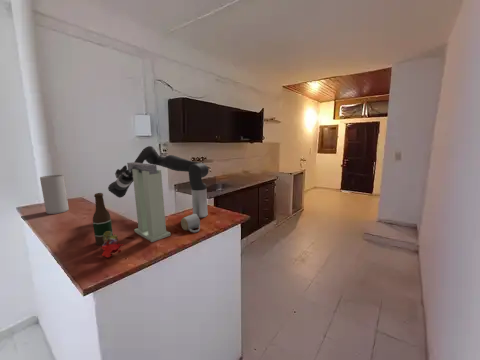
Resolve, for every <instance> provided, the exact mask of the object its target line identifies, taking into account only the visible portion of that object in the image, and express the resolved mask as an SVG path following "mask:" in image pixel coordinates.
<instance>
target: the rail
mask: <svg viewBox="0 0 480 360" xmlns="http://www.w3.org/2000/svg"><path fill="white" fill-rule="evenodd" d="M126 166H127V170H129V171H132V169H137V170H139V173H142V171H149V175H150V174H157V170H158V168H157V167H158V166H157V165H153V164H149V163H144V162H143V163H137V162H135V161H134V162H127V165H126Z"/></svg>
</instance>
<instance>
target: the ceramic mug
mask: <svg viewBox="0 0 480 360" xmlns="http://www.w3.org/2000/svg"><path fill="white" fill-rule="evenodd" d="M180 226H181V228H182V230H184V231H189V232H191V233H198V232H200V230H201V219H200V218H199V217H198V216H197V214H193V213H192V214H189V215H187V216H185V217H183V218H181V219H180ZM194 229H195V230H194Z"/></svg>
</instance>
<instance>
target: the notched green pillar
mask: <svg viewBox="0 0 480 360" xmlns="http://www.w3.org/2000/svg"><path fill="white" fill-rule="evenodd" d="M132 172H133V190H134V199H135V207H136V208H135V209H136V217H137V227H138V228H135V229H134V232H135V233H136V234H137V235H139V236H140V237H142V238H144V239H146V240H147V241H150V242H151V243H154V242H158V241H159V240H162V239H164V238H167V237H170V236H171V232H170V231H169V230H167V227H166V226H167V225H166V223H167V222H166V214H165V202H164V200H165V199H164V189H163V179H162V169H157V174H150V175H149V171H142V173H139V170H137V169H132Z"/></svg>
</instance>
